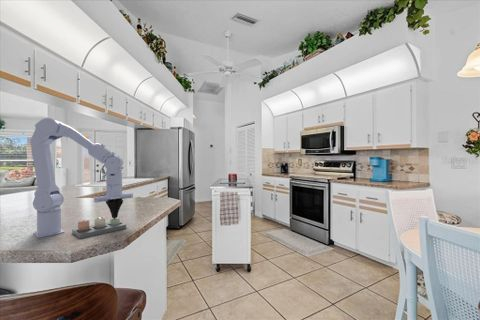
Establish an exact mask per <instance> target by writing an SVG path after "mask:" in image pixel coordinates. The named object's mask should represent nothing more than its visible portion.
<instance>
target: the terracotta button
mask: <svg viewBox="0 0 480 320" xmlns="http://www.w3.org/2000/svg"><path fill="white" fill-rule="evenodd" d="M90 226H91V225H90V220H89V219H83V220H78V221H77V228H78V232H83V231H88V230H90Z"/></svg>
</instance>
